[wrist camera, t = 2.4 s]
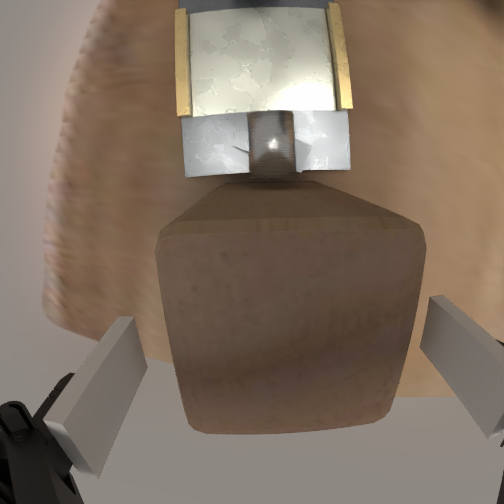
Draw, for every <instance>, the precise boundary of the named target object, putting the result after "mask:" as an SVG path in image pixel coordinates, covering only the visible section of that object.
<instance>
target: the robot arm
mask: <svg viewBox="0 0 504 504" xmlns="http://www.w3.org/2000/svg"><path fill="white" fill-rule="evenodd" d="M420 349H421V350H422V351H423V352H424V354H425V355H426V356H427V357H428V359H429V360H430V361H431V362H432V364H433V365H434V366H435V368H436V369H437V370H438V371H439V373H440V374H441V375H442V377H443V378H444V379H445V381H446V382H447V383H448V385H449V386H450V387H451V389H452V390H453V391H454V393H455V394H456V395H457V397H458V398H459V399H460V401H461V402H462V403H463V405H464V406H465V408H466V409H467V410H468V412H469V413H470V415H471V416H472V417H473V419H474V420H475V422H476V423H477V425H478V426H479V427H480V429H481V430H482V431H483V433H484V435H485V436H486V438H487V439H490V438H492V437H494V436H496V435H498V434H500V433H502V431H503V430H504V343H503V342H501V341H499V340H497V339H494V338H493V337H492V336H491V335H490V334H489V333H487V332H486V331H485V330H484V329H483V328H482V327H481V326H479V325H478V324H477V323H476V322H475V321H474V320H472V319H471V318H470V317H469V316H468V315H466V314H465V313H464V312H463V311H462V310H460V309H459V308H458V307H457V306H456V305H454V304H453V303H452V302H451V301H449V300H448V299H447V298H446V297H444V296H443V295H439V296H432V297H430V298H429V304H428V310H427V315H426V320H425V325H424V330H423V335H422V340H421V344H420ZM146 370H147V364H146V361H145V357H144V353H143V350H142V346H141V342H140V338H139V334H138V330H137V326H136V322H135V318H134V317H122V316H119V317H118V318H117V319H116V321H115V322H114V323H113V324H112V326H111V327H110V328H109V329H108V331H107V332H106V333H105V335H104V336H103V337H102V338H101V340H100V341H99V342H98V344H97V345H96V346H95V348H94V349H93V351H92V352H91V353H90V354H89V356H88V357H87V358H86V360H85V361H84V362H83V364H82V365H81V366H80V368H79V369H78V370H77V372H76V373H69V374H68V375H66V376H65V377H63V378H62V379H61V380H60V381H59V382H58V383H57V385H56V386H55V387H54V390H52V391H51V393H50V394H49V397H47V398H46V400H45V401H44V402H43V404H42V405H41V406H40V408H39V409H38V411H37V412H36V413H35V415H34V416H33V418H32V417H31V415H30V413H29V411H28V410H27V408H26V406H25V405H24V404H23V403H21V402H19V401H9V402H7V403H4V404H2V405H1V406H0V430H1V431H0V504H84V502H83V500H82V498H81V496H80V493H79V491H78V488H77V486H76V483H75V481H74V478H73V476H72V475H71V473H70V472H69V471H70V469H71V466H72V464H73V465H74V467H75V468H76V469H77V471H78V472H79V473H80V474H82V475H86V476H90V477H94V478H97V479H99V477H100V475H101V472H102V470H103V467H104V465H105V463H106V460H107V457H108V455H109V453H110V451H111V448H112V446H113V444H114V441H115V439H116V437H117V434H118V432H119V430H120V427H121V425H122V423H123V421H124V418H125V416H126V414H127V411H128V409H129V407H130V405H131V403H132V400H133V398H134V396H135V394H136V391H137V389H138V387H139V385H140V383H141V381H142V378H143V376H144V374H145V372H146ZM503 445H504V440H503V441H502V443H501V447H503ZM497 504H504V471H503V477H502V483H501V487H500V491H499V496H498V500H497Z"/></svg>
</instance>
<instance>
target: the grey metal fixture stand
mask: <svg viewBox="0 0 504 504" xmlns="http://www.w3.org/2000/svg"><path fill="white" fill-rule="evenodd" d="M175 74H176V103H177V116H178V117H180V118H181V120H182V137H183V153H184V166H185V177H195V176H206V175H218V174H232V173H247V172H249V173H250V179H274V178H290V177H297V172H299V173H302V170H332V169H351V168H350V143H349V126H348V112H347V111H348V110H350V109H352V108H353V106H352V95H351V84H350V75H349V66H348V58H347V51H346V43H345V37H344V30H343V24H342V18H341V12H340V7H339V3H334V2H333V0H179V9H176V10H175Z"/></svg>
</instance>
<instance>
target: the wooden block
mask: <svg viewBox="0 0 504 504" xmlns="http://www.w3.org/2000/svg"><path fill="white" fill-rule="evenodd" d="M155 253H156V261H157V269H158V276H159V283H160V290H161V296H162V303H163V309H164V315H165V321H166V326H167V332H168V337H169V342H170V348H171V353H172V358H173V362H174V367H175V372H176V376H177V381H178V385H179V389H180V394H181V398H182V402H183V407H184V410H185V414H186V417H187V420H188V423H189V424H190V426H191V427H192V428H193V429H194V430H197V431H200V432H203V433H206V434H279V433H296V432H308V431H319V430H328V429H336V428H344V427H351V426H357V425H364V424H369V423H374V422H376V421H378V420H380V419H382V418H384V417H385V416H386V414H387V413H388V412H389V411H390V409H391V406H392V403H393V399H394V397H395V393H396V390H397V387H398V384H399V380H400V377H401V373H402V370H403V366H404V363H405V359H406V355H407V351H408V347H409V343H410V339H411V335H412V330H413V326H414V321H415V316H416V311H417V306H418V301H419V295H420V289H421V283H422V277H423V270H424V263H425V255H426V243H425V238H424V232H423V230H422V228H421V227H420V225H419V224H417V223H415V222H413V221H411V220H409V219H407V218H405V217H403V216H401V215H399V214H396V213H394V212H392V211H389V210H387V209H384V208H382V207H380V206H377V205H375V204H372V203H370V202H367V201H365V200H362V199H360V198H357V197H355V196H352V195H349V194H347V193H344V192H342V191H339V190H336V189H334V188H331V187H328V186H325V185H323V184H320V183H317V182H314V181H306V182H252V183H227V184H224V185H222V186H220V187H218V188H217V189H216V190H214V191H213V192H211V193H210V194H209V195H207V196H206V197H205V198H203V199H202V200H200V201H199V202H198V203H196V204H195V205H194V206H192V207H191V208H190V209H188V210H187V211H186V212H184V213H183V214H182V215H181V216H179V217H178V218H177V219H175V220H174V221H173V222H171V223H170V224H169V225H168V226H166V227H165V228H164V229H162V230H161V232H160V235H159V239H158V242H157V246H156V249H155Z"/></svg>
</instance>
